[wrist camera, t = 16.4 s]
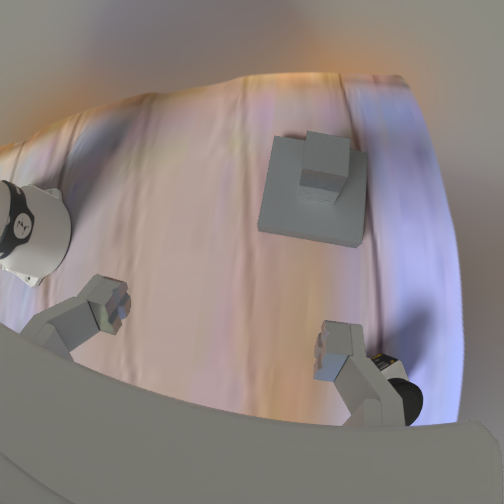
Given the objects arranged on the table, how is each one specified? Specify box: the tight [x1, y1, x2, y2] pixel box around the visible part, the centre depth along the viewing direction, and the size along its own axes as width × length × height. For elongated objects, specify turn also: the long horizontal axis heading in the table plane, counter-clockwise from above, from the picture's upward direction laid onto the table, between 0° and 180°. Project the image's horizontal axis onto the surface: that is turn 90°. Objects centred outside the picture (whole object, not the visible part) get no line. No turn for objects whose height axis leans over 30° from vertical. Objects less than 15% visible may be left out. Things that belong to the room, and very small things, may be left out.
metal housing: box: [296, 131, 350, 205], centre depth 34 cm, size 5×5×9 cm
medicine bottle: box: [371, 353, 423, 426], centre depth 30 cm, size 7×7×12 cm
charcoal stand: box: [258, 136, 367, 248], centre depth 40 cm, size 14×14×3 cm
